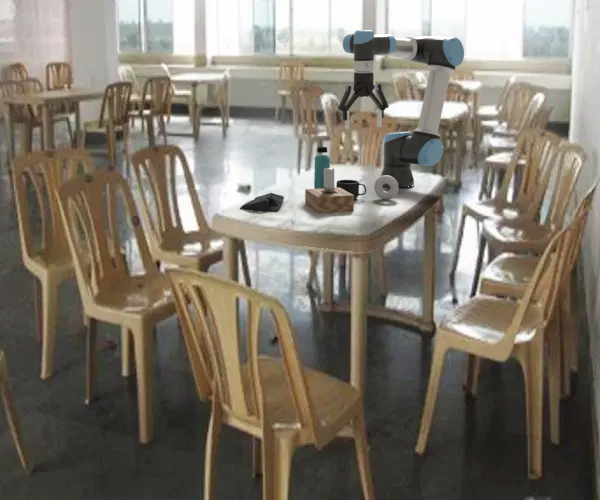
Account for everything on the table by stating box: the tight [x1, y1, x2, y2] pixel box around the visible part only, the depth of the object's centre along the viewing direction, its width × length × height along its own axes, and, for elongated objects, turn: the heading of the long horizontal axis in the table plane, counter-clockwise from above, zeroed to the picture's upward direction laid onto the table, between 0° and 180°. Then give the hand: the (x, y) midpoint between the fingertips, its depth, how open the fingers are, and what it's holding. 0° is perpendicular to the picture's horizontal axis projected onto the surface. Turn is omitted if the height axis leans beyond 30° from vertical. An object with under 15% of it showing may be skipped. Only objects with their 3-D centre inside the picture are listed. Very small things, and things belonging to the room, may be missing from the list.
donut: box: [373, 175, 400, 201], centre depth 336 cm, size 10×4×10 cm, turn 67°
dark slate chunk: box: [239, 192, 285, 213], centre depth 324 cm, size 15×22×5 cm
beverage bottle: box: [313, 146, 331, 189], centre depth 342 cm, size 6×7×20 cm
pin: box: [324, 167, 335, 194], centre depth 320 cm, size 4×4×14 cm
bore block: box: [304, 187, 355, 214], centre depth 321 cm, size 14×16×6 cm
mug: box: [335, 179, 367, 200], centre depth 337 cm, size 12×9×7 cm
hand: (363, 127), depth 327 cm, fingers open, 13 cm apart
